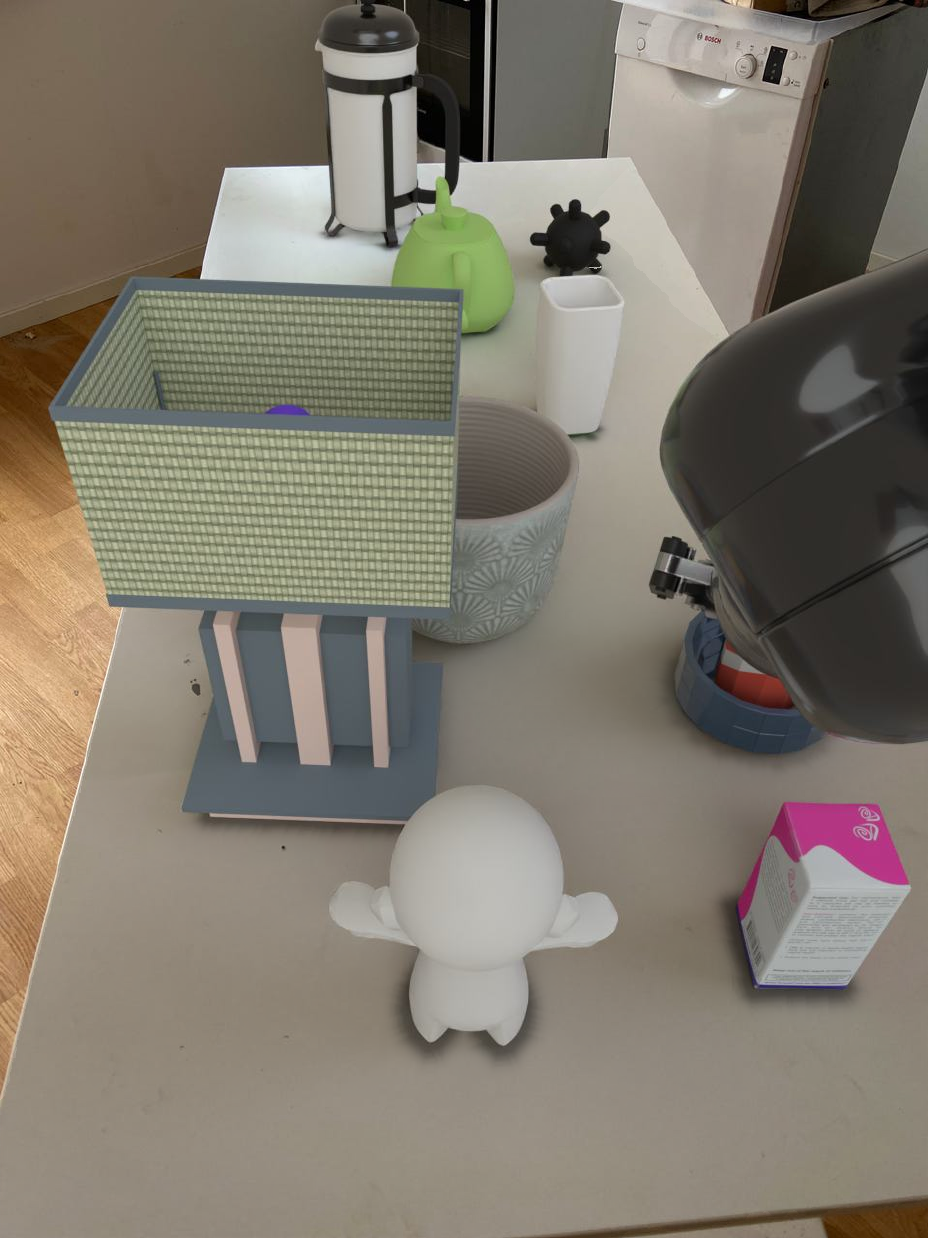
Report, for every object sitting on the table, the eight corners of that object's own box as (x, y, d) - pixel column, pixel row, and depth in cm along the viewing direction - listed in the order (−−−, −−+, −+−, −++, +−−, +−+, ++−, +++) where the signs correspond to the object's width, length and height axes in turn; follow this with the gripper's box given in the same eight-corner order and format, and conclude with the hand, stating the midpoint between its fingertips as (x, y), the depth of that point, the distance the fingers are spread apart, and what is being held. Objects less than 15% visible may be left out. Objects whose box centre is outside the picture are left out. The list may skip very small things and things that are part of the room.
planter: (385, 692, 76) (378, 540, 65) (345, 556, 87) (334, 408, 77) (589, 654, 79) (614, 504, 69) (524, 528, 91) (537, 383, 80)
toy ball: (634, 243, 131) (624, 254, 121) (572, 292, 136) (556, 307, 126) (588, 176, 129) (573, 181, 119) (527, 228, 134) (507, 238, 124)
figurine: (595, 956, 60) (645, 754, 46) (605, 1097, 54) (665, 912, 40) (344, 944, 60) (319, 739, 46) (325, 1083, 54) (290, 895, 40)
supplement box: (849, 990, 59) (915, 891, 51) (752, 990, 59) (803, 890, 51) (823, 904, 63) (880, 800, 55) (733, 903, 63) (777, 799, 55)
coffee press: (339, 258, 133) (323, 3, 112) (313, 213, 143) (294, -26, 123) (459, 244, 137) (465, -4, 116) (425, 202, 148) (425, -32, 127)
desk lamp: (452, 685, 76) (463, 286, 54) (444, 839, 66) (454, 427, 43) (219, 676, 76) (132, 274, 54) (176, 829, 66) (45, 411, 43)
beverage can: (763, 656, 79) (803, 541, 70) (809, 713, 74) (857, 597, 66) (698, 674, 77) (730, 558, 69) (740, 733, 73) (781, 617, 64)
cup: (542, 445, 101) (555, 311, 91) (525, 408, 106) (536, 277, 96) (609, 439, 102) (629, 306, 92) (589, 403, 107) (606, 272, 97)
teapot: (385, 275, 129) (381, 173, 120) (496, 272, 131) (501, 170, 122) (398, 357, 113) (396, 246, 104) (525, 352, 115) (533, 242, 106)
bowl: (857, 692, 77) (878, 648, 73) (786, 787, 70) (805, 743, 67) (721, 621, 82) (734, 577, 79) (643, 702, 76) (654, 657, 72)
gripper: (1031, 547, 37) (942, 589, 52) (665, 454, 41) (683, 519, 56) (970, 736, 37) (899, 721, 52) (610, 625, 41) (644, 642, 56)
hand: (788, 616), depth 54 cm, fingers open, 8 cm apart
